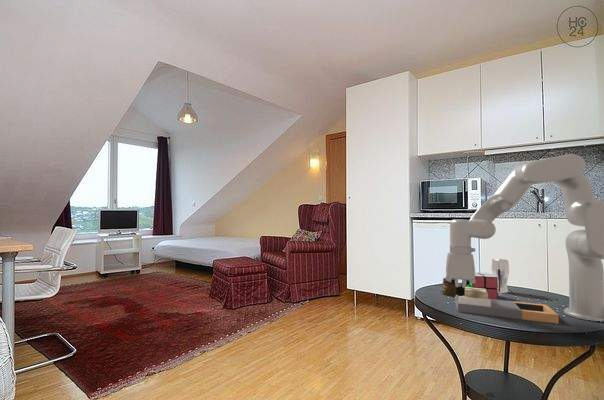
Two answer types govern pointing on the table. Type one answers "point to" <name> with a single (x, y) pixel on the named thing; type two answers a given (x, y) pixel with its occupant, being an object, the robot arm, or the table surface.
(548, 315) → the grey compartment tray
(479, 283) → the puzzle cube
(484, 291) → the block
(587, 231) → the robot arm
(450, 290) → the utensil holder
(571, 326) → the table surface
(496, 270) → the beer glass
